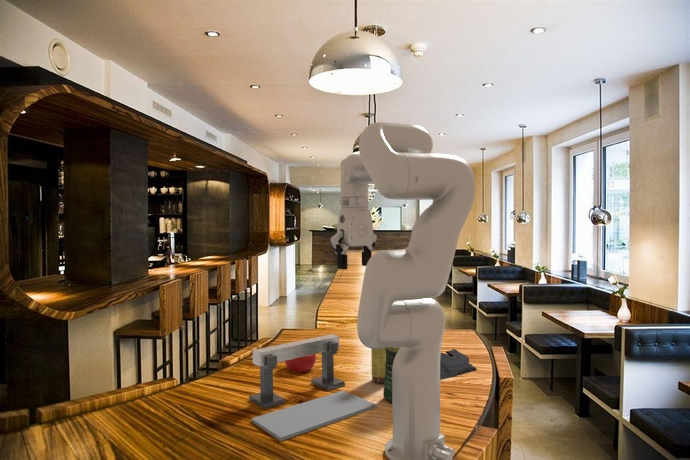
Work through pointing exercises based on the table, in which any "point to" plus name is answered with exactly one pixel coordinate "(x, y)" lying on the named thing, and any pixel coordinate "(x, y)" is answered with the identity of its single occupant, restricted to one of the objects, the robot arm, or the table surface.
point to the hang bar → (294, 349)
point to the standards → (325, 381)
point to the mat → (312, 414)
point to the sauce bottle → (378, 365)
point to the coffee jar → (389, 372)
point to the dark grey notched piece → (454, 364)
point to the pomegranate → (301, 363)
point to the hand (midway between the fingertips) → (354, 267)
